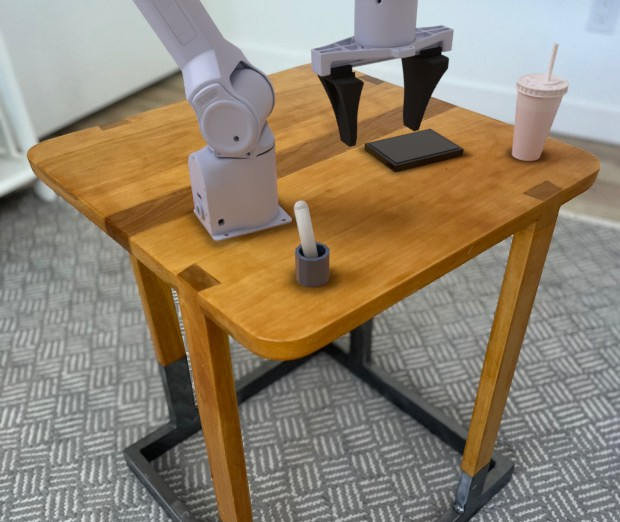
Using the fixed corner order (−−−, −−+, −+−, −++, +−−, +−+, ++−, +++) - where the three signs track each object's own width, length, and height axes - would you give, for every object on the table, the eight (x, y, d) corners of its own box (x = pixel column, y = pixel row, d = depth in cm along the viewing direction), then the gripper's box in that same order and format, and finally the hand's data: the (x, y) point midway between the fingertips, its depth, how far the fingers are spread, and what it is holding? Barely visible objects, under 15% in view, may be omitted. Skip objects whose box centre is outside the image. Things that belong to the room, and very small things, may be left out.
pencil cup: (305, 293, 61) (304, 263, 59) (290, 276, 64) (289, 246, 61) (335, 284, 62) (335, 254, 60) (320, 267, 65) (319, 238, 62)
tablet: (394, 172, 81) (395, 164, 80) (364, 149, 86) (364, 142, 85) (463, 155, 84) (464, 148, 84) (429, 134, 90) (430, 127, 89)
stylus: (312, 283, 61) (295, 202, 58) (307, 280, 63) (290, 202, 60) (325, 279, 62) (309, 199, 59) (319, 277, 63) (303, 198, 60)
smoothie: (552, 167, 81) (582, 53, 72) (502, 163, 82) (525, 50, 73) (548, 147, 86) (576, 37, 76) (501, 143, 87) (522, 35, 77)
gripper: (336, 5, 50) (336, 165, 59) (480, -18, 54) (460, 133, 64) (298, -11, 55) (304, 139, 64) (434, -31, 59) (422, 112, 68)
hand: (380, 135), depth 64 cm, fingers open, 7 cm apart
